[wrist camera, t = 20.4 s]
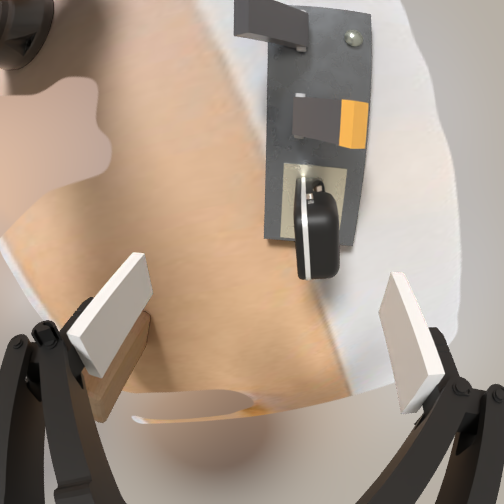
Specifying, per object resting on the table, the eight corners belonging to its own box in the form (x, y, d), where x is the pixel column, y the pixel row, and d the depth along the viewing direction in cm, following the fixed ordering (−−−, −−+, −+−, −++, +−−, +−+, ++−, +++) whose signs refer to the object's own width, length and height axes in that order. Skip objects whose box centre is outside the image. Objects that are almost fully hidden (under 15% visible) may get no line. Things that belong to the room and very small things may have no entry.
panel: (265, 231, 38) (263, 239, 36) (269, 10, 25) (267, 4, 23) (350, 238, 37) (353, 247, 35) (367, 18, 23) (371, 13, 21)
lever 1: (297, 52, 25) (233, 39, 20) (297, 13, 23) (234, -7, 18) (311, 51, 24) (248, 36, 19) (311, 11, 22) (248, -12, 17)
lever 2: (288, 137, 29) (350, 152, 23) (290, 92, 27) (354, 96, 20) (302, 137, 30) (364, 152, 23) (304, 94, 27) (368, 99, 21)
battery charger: (332, 230, 34) (342, 287, 24) (300, 232, 35) (298, 289, 25) (329, 173, 31) (342, 210, 21) (295, 175, 32) (292, 212, 22)
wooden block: (105, 290, 49) (42, 368, 31) (152, 312, 49) (99, 403, 32) (104, 324, 54) (54, 397, 37) (147, 345, 54) (104, 427, 37)
